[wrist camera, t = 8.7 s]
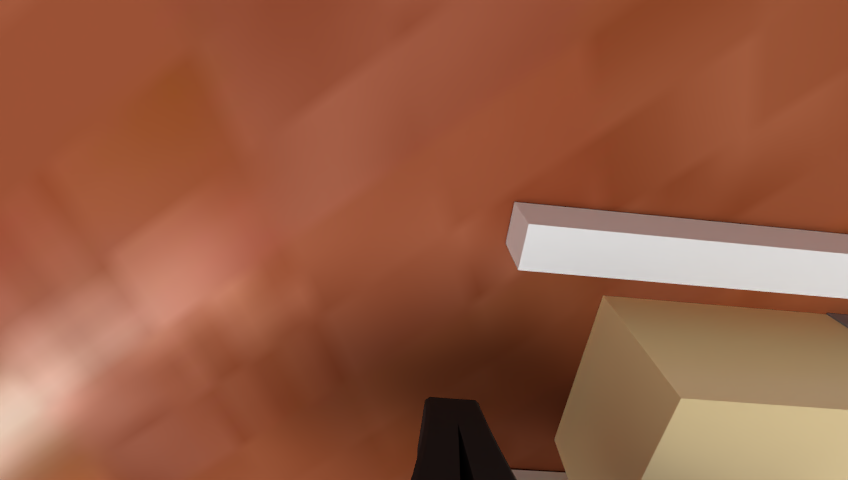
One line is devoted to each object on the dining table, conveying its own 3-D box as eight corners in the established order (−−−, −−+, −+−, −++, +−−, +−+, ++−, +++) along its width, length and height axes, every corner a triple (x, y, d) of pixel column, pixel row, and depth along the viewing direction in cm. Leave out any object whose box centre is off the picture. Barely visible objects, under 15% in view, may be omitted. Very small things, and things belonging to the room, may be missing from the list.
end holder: (808, 506, 16) (843, 548, 15) (453, 487, 16) (457, 530, 14) (1007, 249, 12) (1086, 276, 10) (514, 202, 11) (528, 224, 9)
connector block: (790, 453, 15) (908, 579, 12) (553, 438, 15) (598, 566, 11) (885, 316, 13) (1073, 424, 9) (602, 292, 12) (681, 396, 9)
